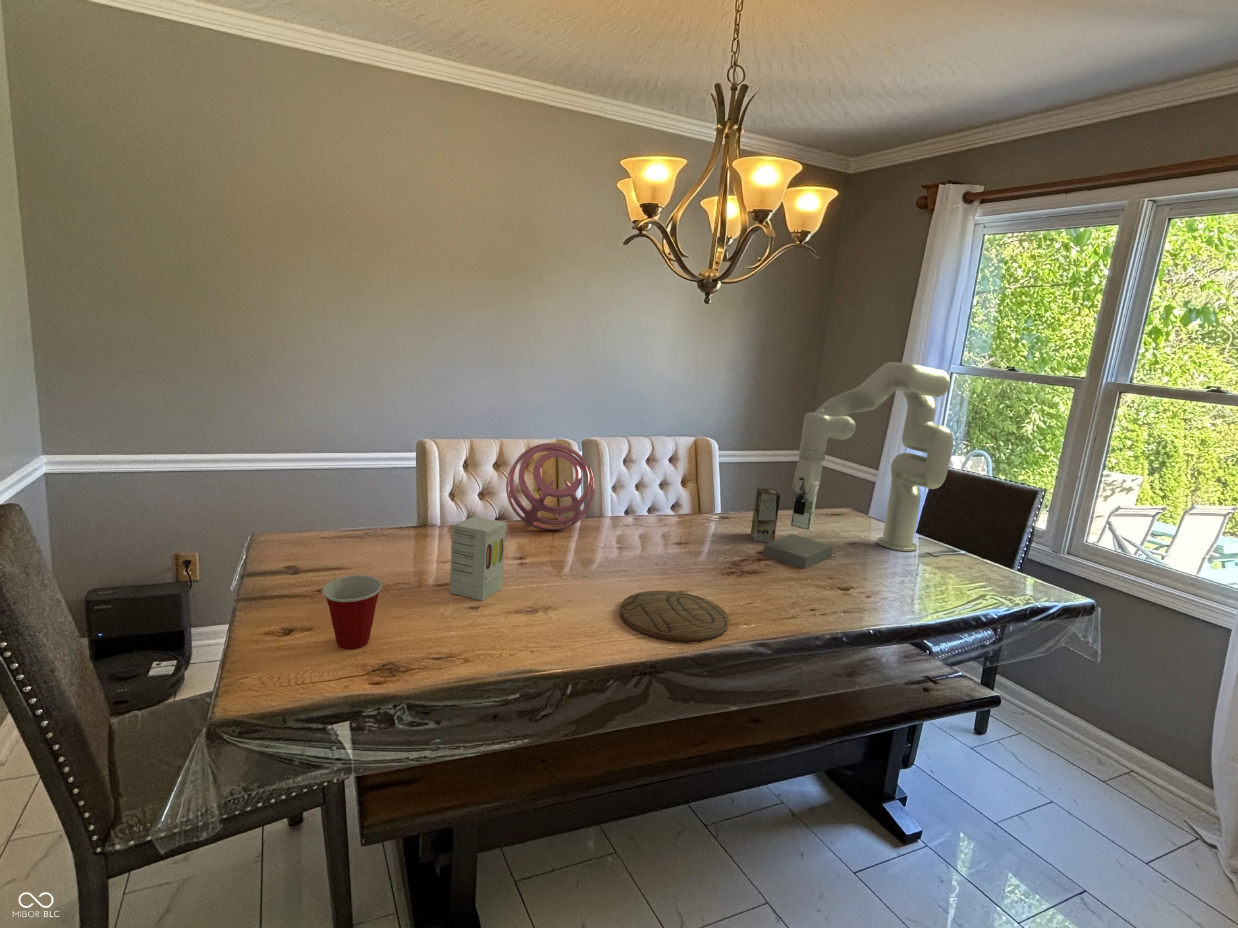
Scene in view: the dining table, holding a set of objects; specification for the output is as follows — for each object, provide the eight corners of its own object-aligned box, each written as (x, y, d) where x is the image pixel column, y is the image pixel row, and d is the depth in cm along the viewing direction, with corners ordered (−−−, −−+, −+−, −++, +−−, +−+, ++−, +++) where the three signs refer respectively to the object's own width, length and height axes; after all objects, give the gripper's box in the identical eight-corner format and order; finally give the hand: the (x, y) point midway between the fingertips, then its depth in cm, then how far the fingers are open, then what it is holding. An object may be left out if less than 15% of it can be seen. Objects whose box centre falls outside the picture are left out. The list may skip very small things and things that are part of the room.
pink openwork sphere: (514, 451, 232) (526, 417, 208) (591, 475, 237) (612, 445, 213) (491, 527, 220) (501, 500, 196) (573, 551, 225) (593, 527, 201)
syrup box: (812, 526, 209) (819, 480, 206) (809, 530, 204) (816, 483, 201) (793, 522, 212) (800, 477, 209) (790, 526, 206) (796, 480, 203)
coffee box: (774, 543, 221) (781, 495, 218) (754, 541, 221) (761, 493, 218) (769, 534, 230) (775, 488, 227) (750, 533, 230) (756, 486, 227)
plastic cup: (308, 647, 129) (308, 588, 127) (349, 626, 139) (350, 570, 137) (354, 661, 126) (355, 600, 123) (393, 638, 136) (394, 581, 133)
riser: (790, 546, 221) (791, 534, 220) (831, 558, 212) (832, 545, 211) (762, 557, 208) (764, 544, 207) (804, 570, 199) (806, 557, 198)
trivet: (648, 650, 141) (649, 642, 140) (603, 602, 163) (603, 595, 163) (749, 637, 151) (750, 629, 151) (693, 593, 173) (694, 586, 173)
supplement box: (482, 601, 157) (485, 531, 153) (448, 593, 160) (450, 524, 156) (503, 588, 166) (506, 521, 162) (470, 580, 169) (473, 515, 165)
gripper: (811, 449, 212) (803, 505, 216) (787, 454, 199) (779, 513, 202) (835, 454, 208) (826, 510, 211) (812, 459, 194) (803, 519, 198)
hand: (803, 511), depth 207 cm, fingers closed on syrup box, 6 cm apart
